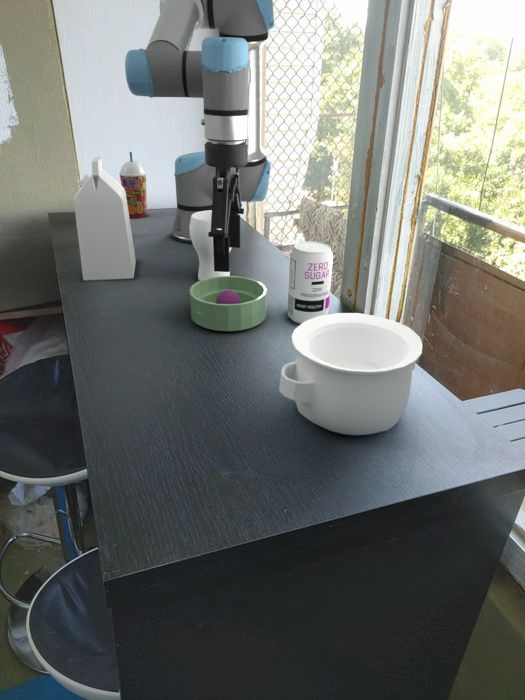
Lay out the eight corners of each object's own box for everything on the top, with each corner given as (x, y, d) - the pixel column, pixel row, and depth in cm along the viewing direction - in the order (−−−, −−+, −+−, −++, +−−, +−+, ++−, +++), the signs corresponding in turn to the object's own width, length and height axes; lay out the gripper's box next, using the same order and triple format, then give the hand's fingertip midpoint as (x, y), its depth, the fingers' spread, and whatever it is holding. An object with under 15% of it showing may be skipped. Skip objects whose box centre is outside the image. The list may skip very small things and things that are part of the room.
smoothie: (119, 218, 171) (112, 153, 161) (129, 211, 178) (123, 149, 168) (144, 219, 170) (138, 154, 160) (153, 213, 177) (148, 150, 167)
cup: (229, 288, 120) (229, 223, 113) (185, 283, 122) (182, 219, 114) (240, 272, 129) (240, 211, 122) (199, 268, 131) (197, 208, 124)
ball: (218, 308, 109) (218, 286, 106) (242, 310, 108) (242, 287, 106) (214, 318, 104) (213, 294, 102) (238, 319, 104) (238, 296, 102)
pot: (311, 467, 67) (318, 387, 62) (257, 397, 81) (258, 327, 75) (444, 426, 76) (461, 352, 70) (374, 369, 89) (383, 303, 83)
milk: (133, 278, 124) (121, 163, 112) (83, 280, 122) (64, 164, 110) (135, 261, 134) (124, 155, 122) (89, 263, 133) (73, 155, 120)
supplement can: (305, 306, 112) (309, 237, 105) (335, 318, 107) (342, 247, 100) (279, 316, 107) (281, 245, 100) (309, 330, 102) (314, 256, 95)
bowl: (199, 299, 114) (198, 273, 111) (269, 304, 112) (270, 277, 110) (183, 331, 101) (181, 302, 98) (261, 336, 99) (262, 307, 96)
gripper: (217, 130, 101) (220, 237, 112) (188, 152, 80) (194, 281, 90) (256, 132, 101) (255, 239, 111) (236, 153, 79) (237, 284, 90)
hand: (228, 258), depth 101 cm, fingers open, 13 cm apart
